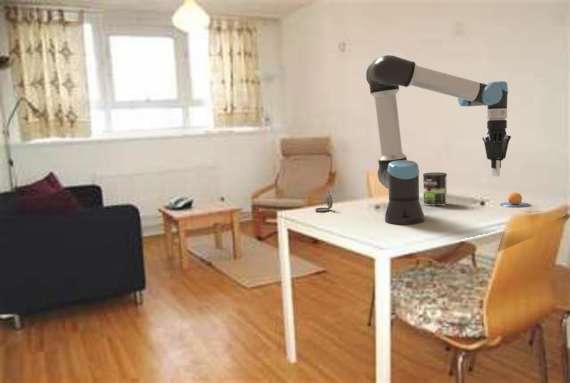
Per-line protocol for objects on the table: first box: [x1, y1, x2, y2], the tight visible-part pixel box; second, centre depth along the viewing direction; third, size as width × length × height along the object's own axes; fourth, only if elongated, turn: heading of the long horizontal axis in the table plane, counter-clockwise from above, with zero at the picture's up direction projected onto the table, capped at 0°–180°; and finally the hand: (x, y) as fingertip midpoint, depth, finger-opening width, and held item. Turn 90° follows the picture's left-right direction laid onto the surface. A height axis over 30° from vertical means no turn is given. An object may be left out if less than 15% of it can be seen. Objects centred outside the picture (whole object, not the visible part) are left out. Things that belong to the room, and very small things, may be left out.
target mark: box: [499, 201, 532, 208], centre depth 211 cm, size 12×12×1 cm
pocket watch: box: [314, 188, 334, 213], centre depth 224 cm, size 8×8×10 cm
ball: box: [507, 191, 523, 205], centre depth 211 cm, size 6×6×6 cm
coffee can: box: [422, 171, 448, 206], centre depth 223 cm, size 10×10×14 cm
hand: (495, 175), depth 206 cm, fingers closed
